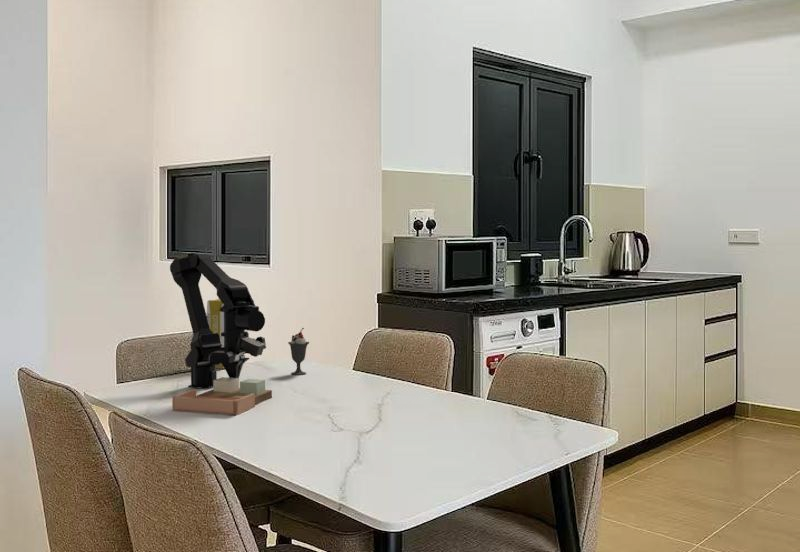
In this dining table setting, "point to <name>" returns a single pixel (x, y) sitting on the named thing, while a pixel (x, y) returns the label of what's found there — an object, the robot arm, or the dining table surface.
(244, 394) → the board
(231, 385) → the ivory rectangular block
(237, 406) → the tray
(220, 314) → the juice carton
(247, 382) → the sage green square block
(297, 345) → the sundae
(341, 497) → the dining table surface
